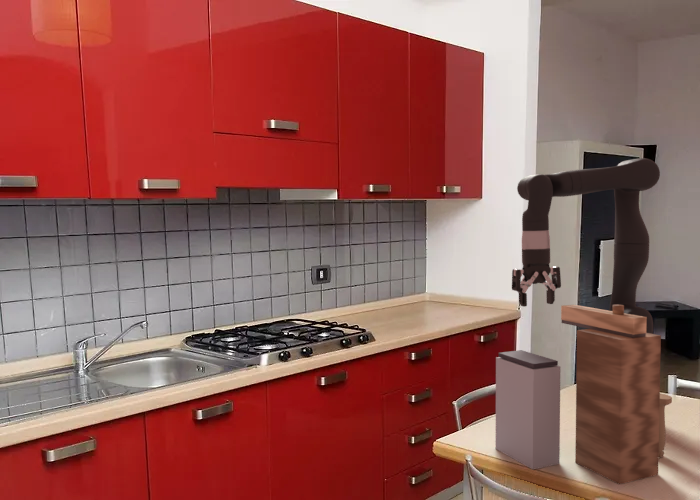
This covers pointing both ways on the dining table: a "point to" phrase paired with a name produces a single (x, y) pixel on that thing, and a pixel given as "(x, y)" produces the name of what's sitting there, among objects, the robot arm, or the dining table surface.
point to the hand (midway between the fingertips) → (536, 304)
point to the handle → (662, 421)
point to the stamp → (605, 320)
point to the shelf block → (618, 404)
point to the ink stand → (528, 408)
